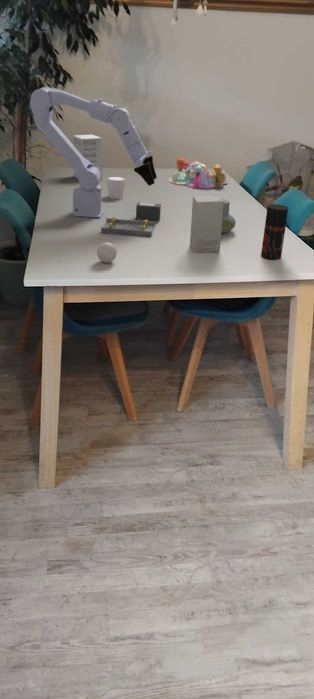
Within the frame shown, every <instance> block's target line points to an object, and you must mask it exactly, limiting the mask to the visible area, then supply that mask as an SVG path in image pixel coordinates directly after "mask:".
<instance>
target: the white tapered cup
mask: <svg viewBox="0 0 314 699" xmlns="http://www.w3.org/2000/svg"><path fill="white" fill-rule="evenodd" d="M106 180H107V182H106V183H107V193H108V198H110V199H115V200H119V199H123V198H124V194H125V184H126V178H125V177H123V176H109V177H107V179H106Z"/></svg>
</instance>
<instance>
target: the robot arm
mask: <svg viewBox="0 0 314 699" xmlns="http://www.w3.org/2000/svg"><path fill="white" fill-rule="evenodd" d="M61 105H64V106H68V107H70V108H75V109H78V110H81V111H85V112H87V114H88V116H89V117H90V118H92V119H95V120H97V121H100V122H102V123H107V124H111V126H112V127H113V128H114V129H116V130H117V132H118V135H119V137H120V139H121V141H122V143H123V145H124V147H125V150H126V151H127V153H128V155H129V157H130V158H131V162H132V163H133V164H135V165H136V167H135V168H133V171H134V172H135V173H137V175H139V176H140V177H141V178H142V180H143V181H144V182H145V183H146V185H148V187H150V186H152V185H154V184H155V183H156V182H155V180H156V179H157V177H158V176H157V173H156V170H155V165H154V158H153V155H152V153H153V152H152V150H149V151H148V150H147V148H146V146H145V144H144V143H143V140H142V138H141V136H140V134H139V132H138V129H137V128H136V127H135V125H134V123H133V121H132V120H131V115H130V114H131V113H130V112H129V110H128V109H126V108H125V107H123V106H118V104H111V103H108V102H104V99H102V98H98V99H96V98H94V99H93V100H91V101H90V100H87V99H85V98H83V97H80V96H77V95H75V94H72V93H69V92H67V91H64V90H61V89H58V88H52V87H50V86H43V87H41V88H37V89H35V90H34V91H33V92H32V93H31V95H30V100H29V107H30V109H31V111H32V115H33V119H34V122H35V123H34V124H35V126H36V127H37V129H38V130H39V131H40V133H42V135H43V136H44V137H45V138H46V139H47V140H48V141H49V143H50V144H51V145H52V147H54V149H55V150H56V151H57V152H58V153H59V154H60V155H61V156H62V157H63V160H64V159H65V161H66V162H67V164H68V165H69V166H70V167H71V168H72V171H73V170H74V173H75V175H76V177H77V178H78V179H77V178H76V177H75V178H76V179H77V180H78V183H79V185H80V186H79V187H74V188H73V192H72V216H73V217H82V218H83V217H85V218H86V217H87V218H97V219H98V218H101V217H102V215H103V214H104V210H102V186H101V185H100V182H101V179H103V171H102V172H101V170H100V169H99V168H98V167H96V166H94V165H92V164H91V163H90V161H88V160H87V159H85V158H84V157H83V156H82V155H81V154H80V153H79V151H78V150H77V149H76V148H75V147H74V146H73V142H71V141H70V139H69V138H68V137H67V136H66V135H65V133H63V131H62V130H61V129H60V127H58V125H57V124H56V123H55V122H54V120H53V113H54V112H53V110H54V107H56V106H61Z"/></svg>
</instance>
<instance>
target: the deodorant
mask: <svg viewBox="0 0 314 699" xmlns="http://www.w3.org/2000/svg"><path fill="white" fill-rule="evenodd" d="M288 211H289V207H288V206H286V205H282V204H274V203H273V204H268V205H267V209H266V216H265V222H264V230H263V236H262V245H261V251H260V252H261V253H260V257H261V258H263V259H265V260H268V261H278V260H281V259H282V254H283V246H284V241H285V240H284V239H285V233H286V227H287V226H286V225H287V219H288Z"/></svg>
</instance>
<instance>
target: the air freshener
mask: <svg viewBox="0 0 314 699" xmlns="http://www.w3.org/2000/svg"><path fill="white" fill-rule="evenodd" d="M221 199H222V198H221ZM222 200H223V201H224V206H223V217H222V229H221V235H223V234H225V233H226V234H227V233H228V232H231V231H232V230H234V228H235V227H236V219H235V218H234V216H233V215H231V214H230V203H231V202H230V200H227V199H224V198H223V199H222Z"/></svg>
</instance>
